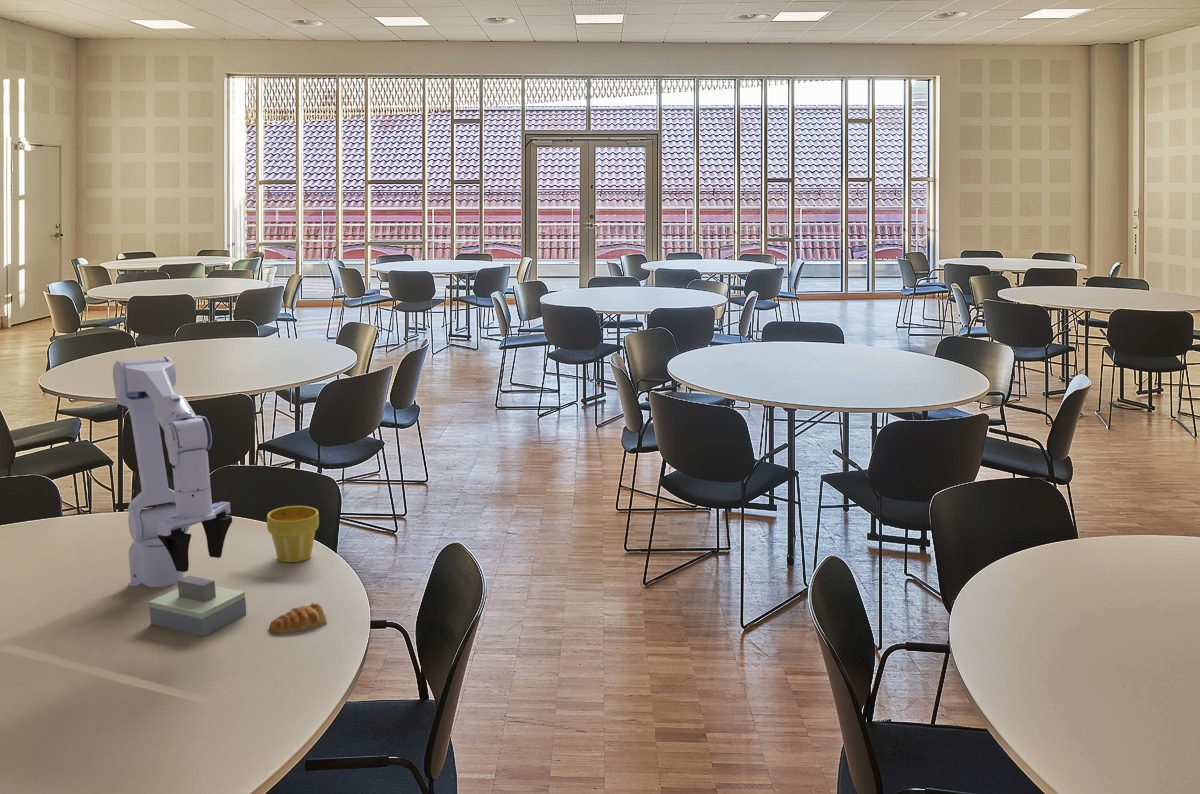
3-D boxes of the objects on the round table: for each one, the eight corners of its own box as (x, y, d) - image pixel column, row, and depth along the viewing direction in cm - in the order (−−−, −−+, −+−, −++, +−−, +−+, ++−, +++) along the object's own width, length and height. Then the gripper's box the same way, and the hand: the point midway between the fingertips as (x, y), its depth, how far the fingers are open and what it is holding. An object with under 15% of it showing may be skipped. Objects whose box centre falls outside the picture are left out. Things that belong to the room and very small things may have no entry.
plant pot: (329, 558, 200) (327, 513, 199) (283, 570, 193) (280, 524, 191) (306, 545, 208) (304, 502, 206) (260, 556, 201) (257, 512, 199)
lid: (149, 610, 166) (147, 585, 165) (193, 589, 175) (192, 565, 174) (202, 622, 161) (200, 596, 160) (245, 600, 170) (243, 576, 169)
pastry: (278, 643, 162) (276, 622, 161) (263, 630, 167) (261, 610, 166) (330, 628, 168) (329, 608, 167) (314, 616, 173) (313, 596, 172)
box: (151, 628, 166) (149, 606, 166) (195, 606, 175) (193, 586, 175) (204, 641, 162) (202, 618, 161) (246, 618, 171) (245, 597, 170)
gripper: (177, 501, 156) (184, 580, 158) (241, 479, 169) (247, 553, 171) (144, 497, 159) (152, 575, 161) (210, 476, 172) (216, 549, 174)
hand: (199, 563), depth 166 cm, fingers open, 7 cm apart
